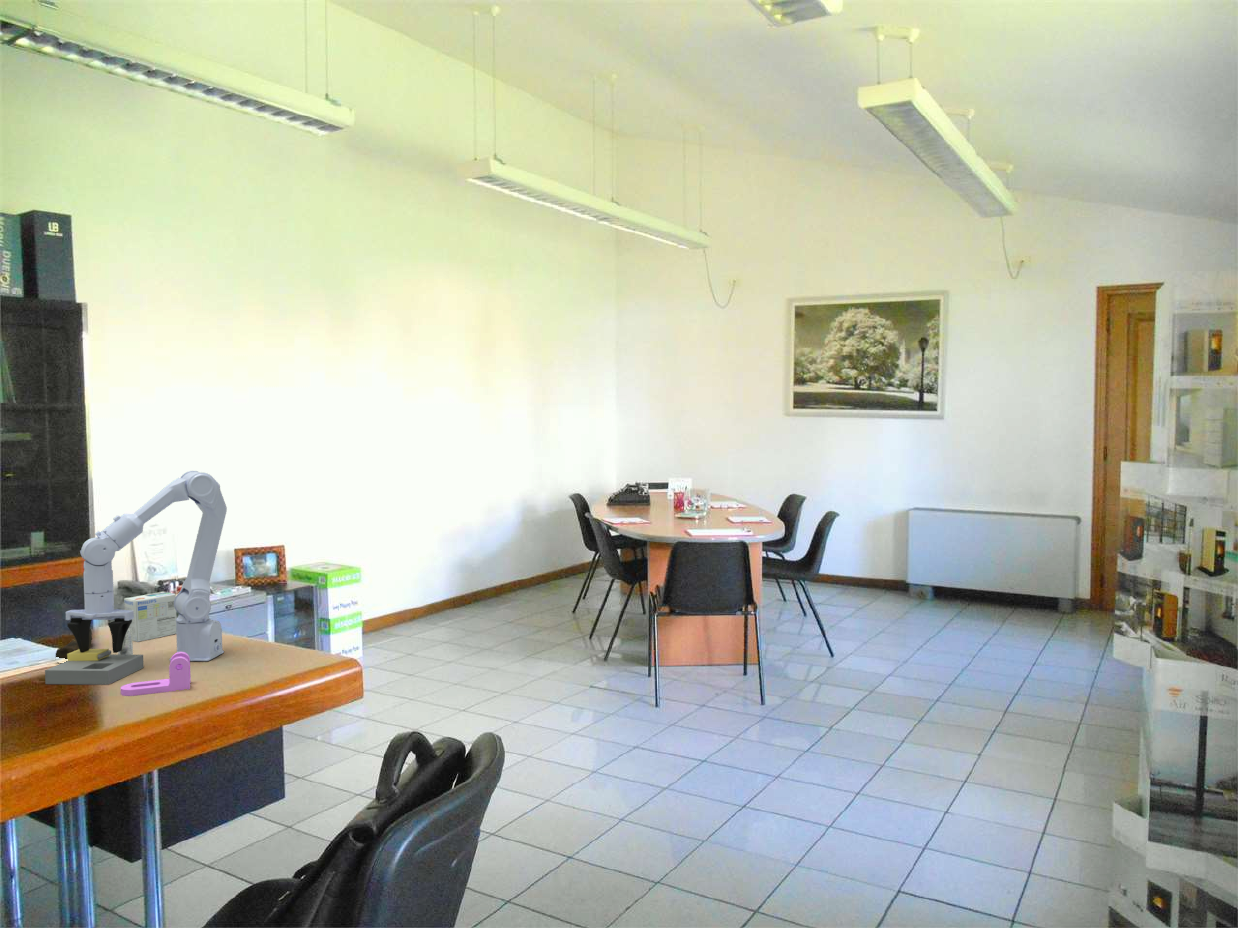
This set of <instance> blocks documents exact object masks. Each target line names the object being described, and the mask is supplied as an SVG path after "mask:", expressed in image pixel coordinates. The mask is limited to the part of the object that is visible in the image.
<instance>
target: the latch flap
mask: <svg viewBox="0 0 1238 928" xmlns="http://www.w3.org/2000/svg"><path fill="white" fill-rule="evenodd" d="M110 654H112V650H110V649H109V648H89V650H88V651H86V652H83V653H81V652H80V649H78V650H76V651H73V652H71V653H68V654H67V659H68V661H98V660H100V659H103V658H105V657H107V656H109V655H110Z"/></svg>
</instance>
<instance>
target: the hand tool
mask: <svg viewBox="0 0 1238 928" xmlns="http://www.w3.org/2000/svg"><path fill="white" fill-rule="evenodd" d="M91 629H92V628H90V632H89V649H91V647H92V641H93V635H92V634H93V631H92V630H91ZM78 649H79V646H78V643H77V641H76V639H75V638H73V640H72V641H70V642H68V644H66V645H64V646H63V647H61V648H57V650H56V651H55V658H56V657H59V658H65V659H67V654H68V653H71V652H73V651H76V650H78Z"/></svg>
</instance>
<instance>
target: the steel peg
mask: <svg viewBox="0 0 1238 928" xmlns="http://www.w3.org/2000/svg"><path fill="white" fill-rule="evenodd" d="M133 642H134V641H133V640H132V629H131V628H128V630H127V633H126V635H125V638H124V642H123V646H122V651H120V652H117V654H124V655H134V650H133V649H134V646H133V645H134V644H133Z"/></svg>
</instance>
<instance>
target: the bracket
mask: <svg viewBox="0 0 1238 928" xmlns="http://www.w3.org/2000/svg"><path fill="white" fill-rule="evenodd" d="M170 658H171V661H169V666H168V669H169V671H168V673H169V678H163V679H155V680H147V681H144V680H143V681H136V682H131V683H126V684H123V685H121V686H120V695H121V696H123V697H134V696H142V695H143V696H144V695H151V694H160V693H161V694H162V693H168V692H169V691H170V692H176V690H179V691H185V690H184V689H187V690H190V688H191V684H190V683H191V682H192V678H191V676H192V675H191V661H190V657H189V655H188V654H187V653H185V652H177V651H176V652H175V653H174V654H172V656H171V657H170Z"/></svg>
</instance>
